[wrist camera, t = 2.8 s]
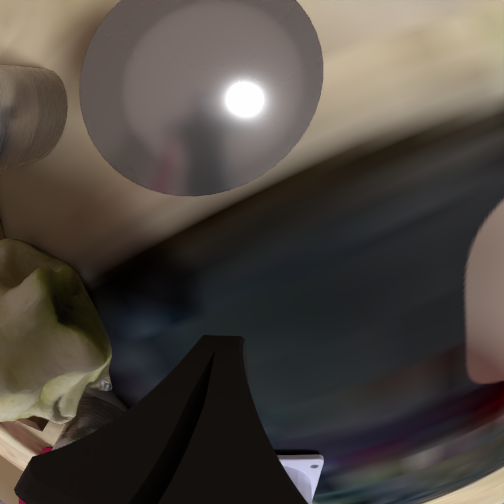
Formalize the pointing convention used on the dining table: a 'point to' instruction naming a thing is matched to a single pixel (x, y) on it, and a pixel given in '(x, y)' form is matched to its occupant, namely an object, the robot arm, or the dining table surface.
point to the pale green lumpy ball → (47, 336)
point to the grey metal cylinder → (200, 90)
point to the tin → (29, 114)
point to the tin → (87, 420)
